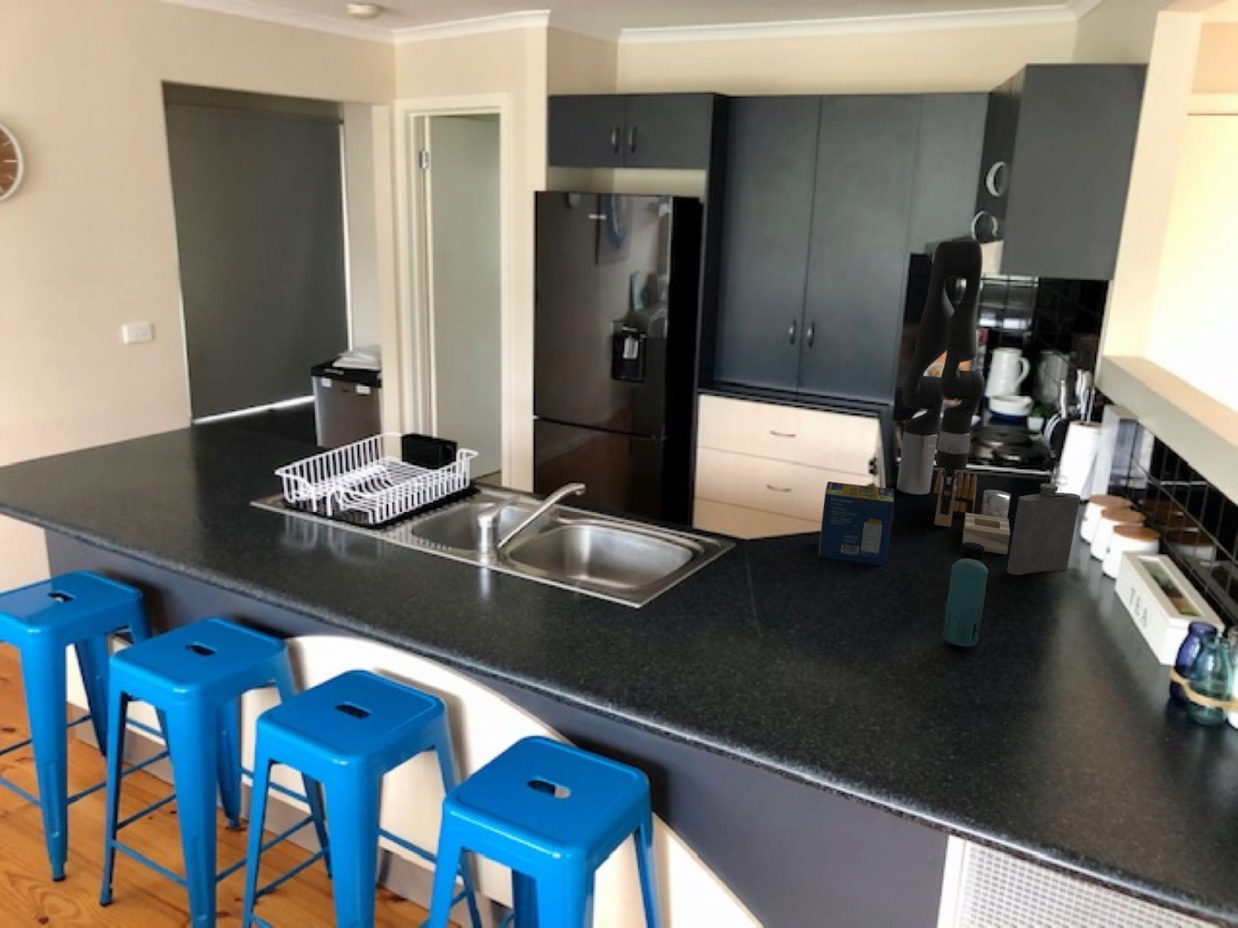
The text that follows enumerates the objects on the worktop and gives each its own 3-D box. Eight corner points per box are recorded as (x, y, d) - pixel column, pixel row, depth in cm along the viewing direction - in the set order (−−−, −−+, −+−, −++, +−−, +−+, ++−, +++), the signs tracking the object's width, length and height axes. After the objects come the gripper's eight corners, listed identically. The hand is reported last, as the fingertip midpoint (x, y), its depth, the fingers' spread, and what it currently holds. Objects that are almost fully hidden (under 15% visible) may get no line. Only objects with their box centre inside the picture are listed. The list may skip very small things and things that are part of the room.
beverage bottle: (973, 657, 172) (989, 553, 167) (935, 647, 176) (950, 545, 170) (981, 644, 178) (997, 543, 172) (944, 635, 181) (959, 535, 176)
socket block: (962, 531, 241) (965, 512, 240) (1005, 537, 238) (1008, 518, 236) (962, 547, 229) (965, 528, 228) (1006, 554, 226) (1010, 534, 225)
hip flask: (1013, 575, 213) (1027, 490, 207) (1001, 569, 216) (1014, 484, 211) (1070, 569, 218) (1085, 486, 213) (1057, 563, 222) (1071, 481, 216)
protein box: (820, 542, 228) (827, 480, 224) (887, 551, 225) (895, 488, 220) (817, 557, 219) (824, 492, 215) (886, 566, 215) (894, 501, 211)
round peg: (978, 521, 249) (983, 488, 247) (1004, 525, 247) (1010, 492, 245) (978, 528, 244) (984, 495, 241) (1005, 532, 242) (1011, 498, 239)
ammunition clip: (973, 516, 253) (979, 473, 250) (972, 518, 252) (978, 474, 249) (931, 509, 258) (937, 466, 255) (930, 510, 257) (936, 468, 253)
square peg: (935, 520, 249) (940, 483, 246) (951, 522, 248) (956, 485, 245) (934, 524, 245) (939, 487, 243) (950, 526, 244) (956, 489, 241)
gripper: (938, 440, 249) (930, 500, 253) (936, 453, 236) (928, 515, 240) (969, 444, 246) (960, 504, 251) (968, 456, 233) (959, 519, 238)
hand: (944, 509), depth 245 cm, fingers open, 8 cm apart
